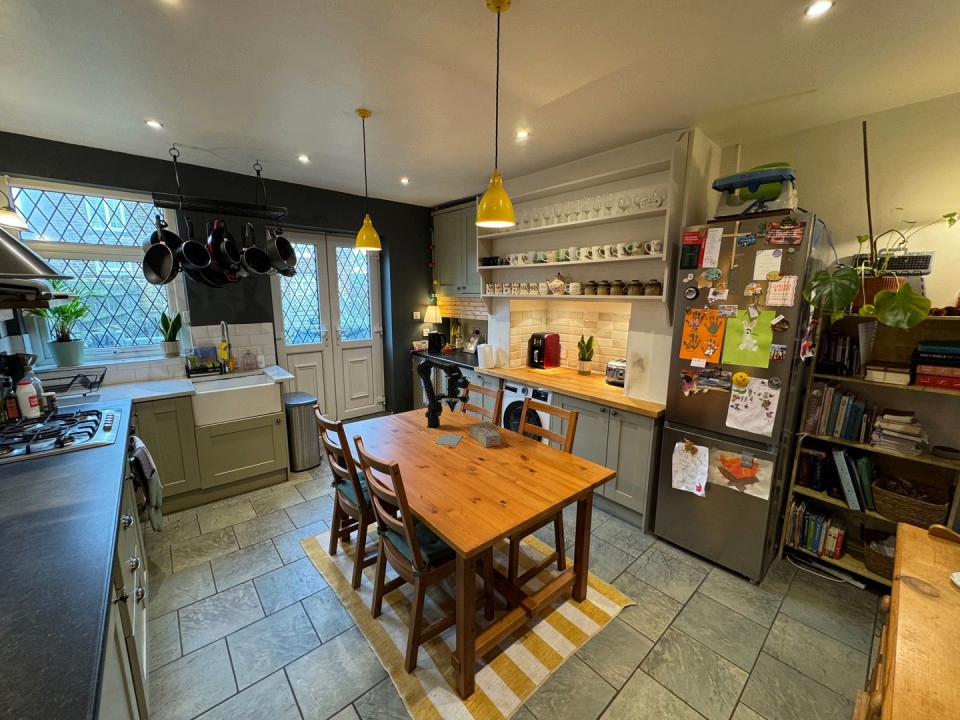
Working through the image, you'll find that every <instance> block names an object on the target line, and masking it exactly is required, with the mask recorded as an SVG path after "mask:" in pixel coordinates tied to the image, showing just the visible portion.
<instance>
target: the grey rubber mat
mask: <svg viewBox="0 0 960 720" xmlns="http://www.w3.org/2000/svg"><path fill="white" fill-rule="evenodd" d="M462 438H463V435H458V434H450V433H449V434H448V433H442V434H441V435H440V436H439V438H438V439H437V440H436V441H435V442H434V444H435V445H441V444H442V445H443V446H452V447H454V446H455V447H456V446H457V445H458V444H459V442H460V441H461V440H462Z"/></svg>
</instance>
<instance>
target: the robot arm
mask: <svg viewBox="0 0 960 720" xmlns="http://www.w3.org/2000/svg"><path fill="white" fill-rule="evenodd" d="M433 368H436V369H439V370H441V371H443V373H444V374H446V375H444V378H446V381H447V385H446V386H447V388H446V391H447V394H446V393H443V392H439V393H437V394H436V392H435V389H434V385H433V382H432V379H431V376H432V369H433ZM416 372H417V374H418V377H419V378H421V380H422V383H423V387H424V390H425V392H426V396H427V397H426V398H427V400H428V404H427V411H426V412H425V413H424V416H425V418H427V425H426V428H429V429H437V428H439V427H440V425H441V418H440V416H442V413H443V408H444V407H443V405H442V400H443V399H445V401H444V402H445V403H446V404H447V405H448V407H449V409H450V411H451V413H454V411H455V409H456V405H457V404H458V403H459V402H460V403H468V402H469V401H470V395H468V394H462V395H461V389H462V390H466V389H467V388H469V383H470V382H469V380H468V379H467V377H466V376H464V375H463V372H462V370H461V369H460V367H459V365H458V363H454V362H453V363H452V362H450V363H449V362H445V361H442V360H439V359H436V358H434V357H429V358H426V359H425V360H424V361H422V362H421V363H420V364H417V367H416Z"/></svg>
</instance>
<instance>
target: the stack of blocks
mask: <svg viewBox="0 0 960 720" xmlns="http://www.w3.org/2000/svg"><path fill="white" fill-rule="evenodd" d="M469 435H470V436H472V438H474V439H475V440H476V441H478V443H480V444H481V446H483V447H484V448H490V447H495V446H497V445H498V446H501V441H502V439H501V437H502V436H501V433H499V428H498V427H497V426H496V425H495V424H493V423H492V422H490V421H489V420H486V421H480V422H476V423H470V424H469ZM498 446H497V447H498Z"/></svg>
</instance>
